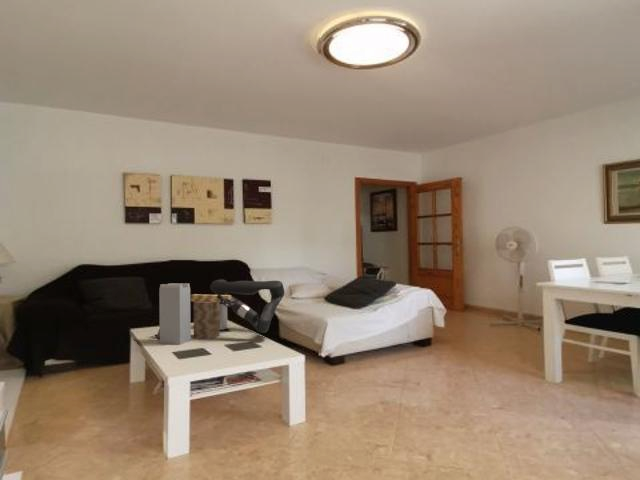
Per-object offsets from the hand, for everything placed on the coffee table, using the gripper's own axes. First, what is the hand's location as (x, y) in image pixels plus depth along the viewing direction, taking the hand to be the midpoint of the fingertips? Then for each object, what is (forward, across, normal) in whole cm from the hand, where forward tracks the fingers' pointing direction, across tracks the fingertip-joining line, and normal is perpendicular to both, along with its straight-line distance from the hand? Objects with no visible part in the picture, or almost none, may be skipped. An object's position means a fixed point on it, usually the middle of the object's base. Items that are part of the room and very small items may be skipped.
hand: (220, 295), depth 251 cm
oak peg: (+4, 0, +7) cm, 8 cm away
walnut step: (-4, 0, +28) cm, 28 cm away
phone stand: (+18, +7, +41) cm, 45 cm away
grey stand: (+5, +16, +33) cm, 37 cm away
